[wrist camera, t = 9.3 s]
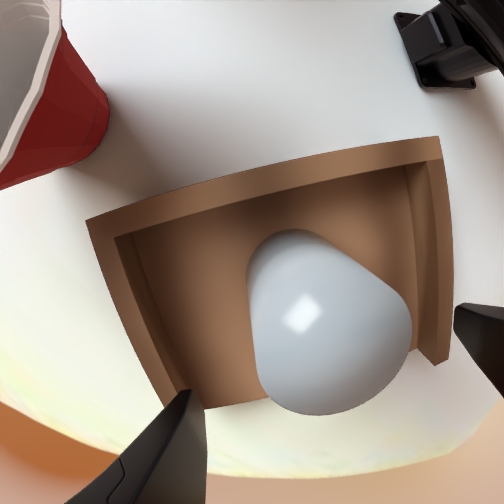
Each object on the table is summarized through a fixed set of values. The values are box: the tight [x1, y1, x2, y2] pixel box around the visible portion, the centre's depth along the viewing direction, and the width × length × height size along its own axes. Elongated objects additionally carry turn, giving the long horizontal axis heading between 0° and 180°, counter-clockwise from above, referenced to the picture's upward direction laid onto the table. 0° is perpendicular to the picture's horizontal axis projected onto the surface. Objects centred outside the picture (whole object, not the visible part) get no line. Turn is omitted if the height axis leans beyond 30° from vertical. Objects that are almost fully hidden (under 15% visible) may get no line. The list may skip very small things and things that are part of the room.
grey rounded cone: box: [246, 229, 412, 416], centre depth 13 cm, size 5×5×8 cm
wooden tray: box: [85, 136, 454, 410], centre depth 17 cm, size 18×14×6 cm
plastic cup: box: [0, 0, 110, 190], centre depth 10 cm, size 11×11×12 cm
